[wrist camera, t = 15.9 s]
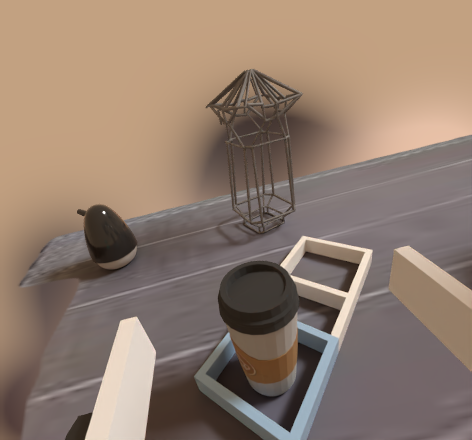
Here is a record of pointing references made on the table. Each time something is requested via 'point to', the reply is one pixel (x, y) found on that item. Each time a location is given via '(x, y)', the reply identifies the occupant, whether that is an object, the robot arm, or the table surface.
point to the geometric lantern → (258, 80)
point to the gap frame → (307, 335)
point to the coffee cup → (262, 323)
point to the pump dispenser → (108, 237)
